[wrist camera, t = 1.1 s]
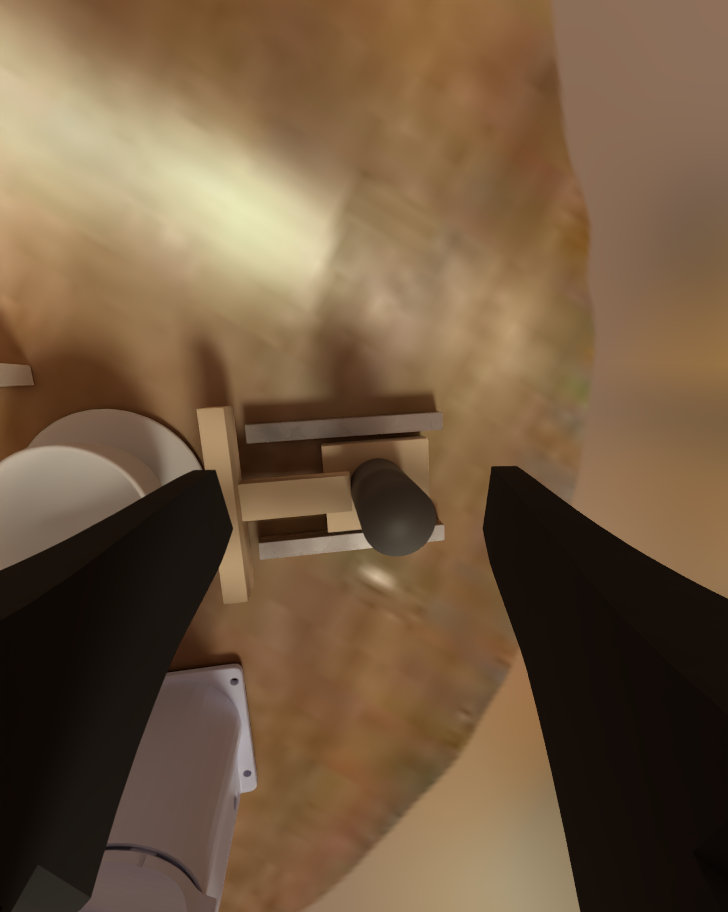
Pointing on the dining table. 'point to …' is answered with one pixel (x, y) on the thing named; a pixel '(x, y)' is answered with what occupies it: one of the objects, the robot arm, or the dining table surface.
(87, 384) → the dining table surface
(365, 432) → the rail
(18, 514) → the teacup
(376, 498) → the pushrod
